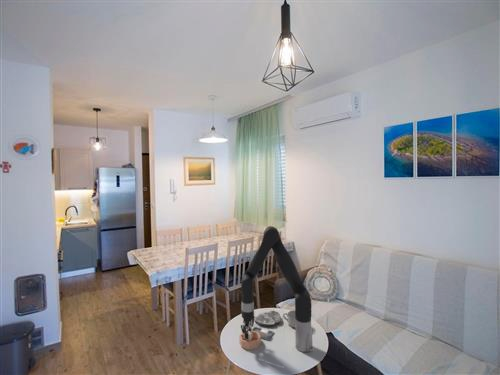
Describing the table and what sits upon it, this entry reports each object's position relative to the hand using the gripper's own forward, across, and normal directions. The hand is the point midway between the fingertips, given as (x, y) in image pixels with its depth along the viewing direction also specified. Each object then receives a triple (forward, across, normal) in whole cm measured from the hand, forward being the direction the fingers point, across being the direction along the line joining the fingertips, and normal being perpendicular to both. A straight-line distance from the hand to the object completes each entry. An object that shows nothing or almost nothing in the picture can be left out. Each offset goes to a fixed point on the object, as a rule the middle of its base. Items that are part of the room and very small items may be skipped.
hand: (248, 336), depth 158 cm
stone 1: (+1, 0, 0) cm, 1 cm away
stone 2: (+5, +12, -5) cm, 14 cm away
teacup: (+6, +33, -17) cm, 38 cm away
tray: (+5, +14, -2) cm, 15 cm away
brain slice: (+6, +30, 0) cm, 31 cm away
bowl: (+5, +2, 0) cm, 6 cm away
